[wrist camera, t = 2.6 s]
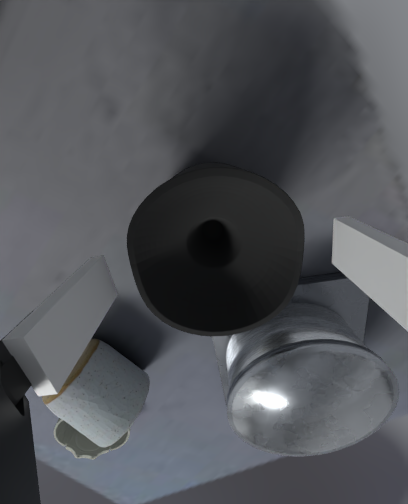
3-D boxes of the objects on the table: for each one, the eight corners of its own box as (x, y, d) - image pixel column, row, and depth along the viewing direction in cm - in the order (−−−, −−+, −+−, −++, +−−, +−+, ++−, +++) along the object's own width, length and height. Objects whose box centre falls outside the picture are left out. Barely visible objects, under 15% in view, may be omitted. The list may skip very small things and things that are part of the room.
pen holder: (286, 202, 21) (351, 246, 12) (220, 277, 24) (230, 359, 15) (199, 131, 18) (194, 117, 9) (138, 224, 22) (91, 283, 12)
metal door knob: (204, 291, 24) (204, 345, 18) (364, 268, 23) (427, 316, 17) (227, 403, 32) (233, 471, 25) (350, 390, 31) (390, 456, 24)
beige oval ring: (64, 414, 33) (42, 458, 28) (70, 385, 31) (47, 428, 26) (129, 428, 34) (117, 472, 30) (139, 402, 32) (129, 445, 27)
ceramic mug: (103, 321, 26) (65, 387, 19) (157, 362, 29) (140, 433, 22) (49, 365, 29) (-1, 435, 22) (101, 398, 32) (71, 471, 25)
